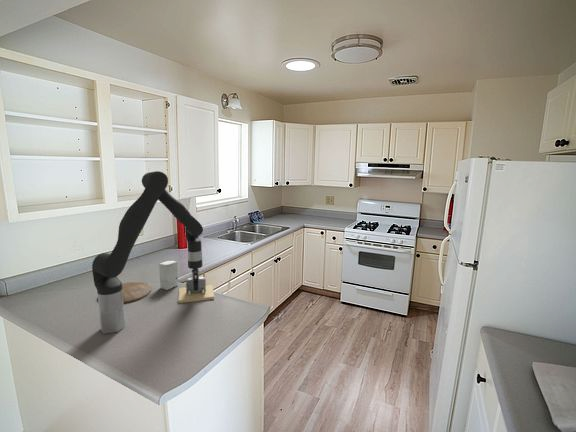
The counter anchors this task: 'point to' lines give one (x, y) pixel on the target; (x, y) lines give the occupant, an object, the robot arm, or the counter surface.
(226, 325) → the counter surface
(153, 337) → the counter surface
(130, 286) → the trivet
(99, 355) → the counter surface
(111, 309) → the robot arm
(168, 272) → the skincare box
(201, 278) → the grey rectangular block
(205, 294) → the yellow peg board
